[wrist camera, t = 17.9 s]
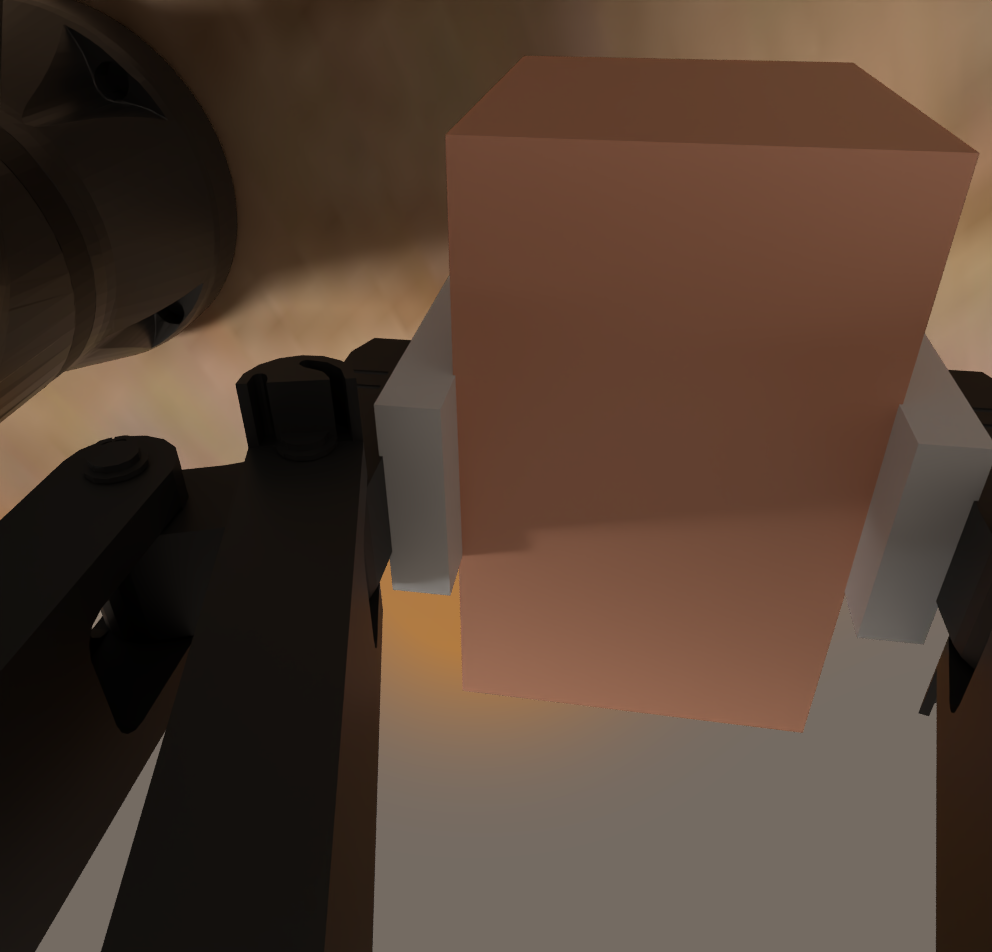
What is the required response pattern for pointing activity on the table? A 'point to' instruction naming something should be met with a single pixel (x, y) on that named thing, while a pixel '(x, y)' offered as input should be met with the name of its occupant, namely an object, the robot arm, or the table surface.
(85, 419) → the table surface
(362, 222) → the table surface
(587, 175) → the terracotta brick
